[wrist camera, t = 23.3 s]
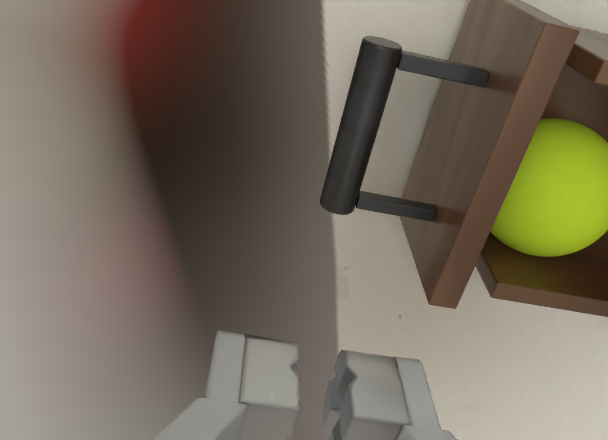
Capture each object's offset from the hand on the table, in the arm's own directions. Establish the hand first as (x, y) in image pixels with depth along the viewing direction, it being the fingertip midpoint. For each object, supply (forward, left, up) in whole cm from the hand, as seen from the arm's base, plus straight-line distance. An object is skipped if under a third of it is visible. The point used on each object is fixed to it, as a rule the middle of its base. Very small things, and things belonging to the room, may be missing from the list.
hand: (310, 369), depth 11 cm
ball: (+8, -7, -14) cm, 18 cm away
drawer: (+9, -6, -18) cm, 21 cm away
